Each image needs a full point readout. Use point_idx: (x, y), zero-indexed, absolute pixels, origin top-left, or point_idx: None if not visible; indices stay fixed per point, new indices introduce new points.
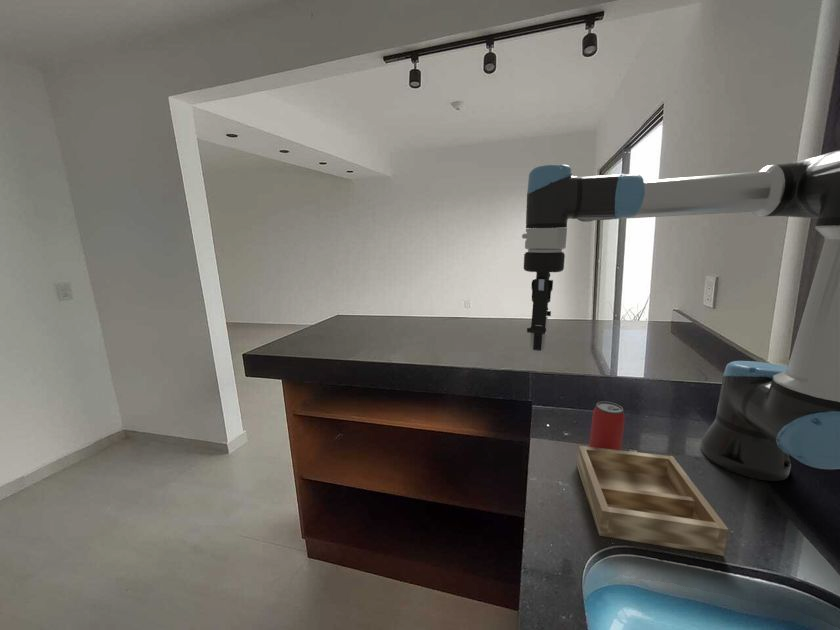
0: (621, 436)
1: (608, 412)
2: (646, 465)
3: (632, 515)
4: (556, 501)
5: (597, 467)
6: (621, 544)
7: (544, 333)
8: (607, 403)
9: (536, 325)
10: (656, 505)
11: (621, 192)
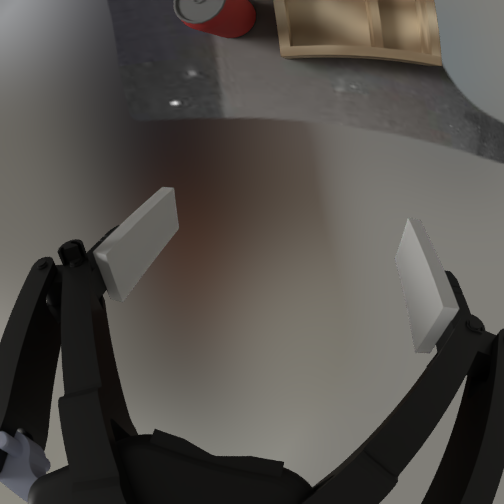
0: None
1: (225, 1)
2: None
3: (438, 31)
4: (382, 102)
5: (291, 31)
6: None
7: (477, 319)
8: (177, 5)
9: (140, 267)
10: None
11: None
